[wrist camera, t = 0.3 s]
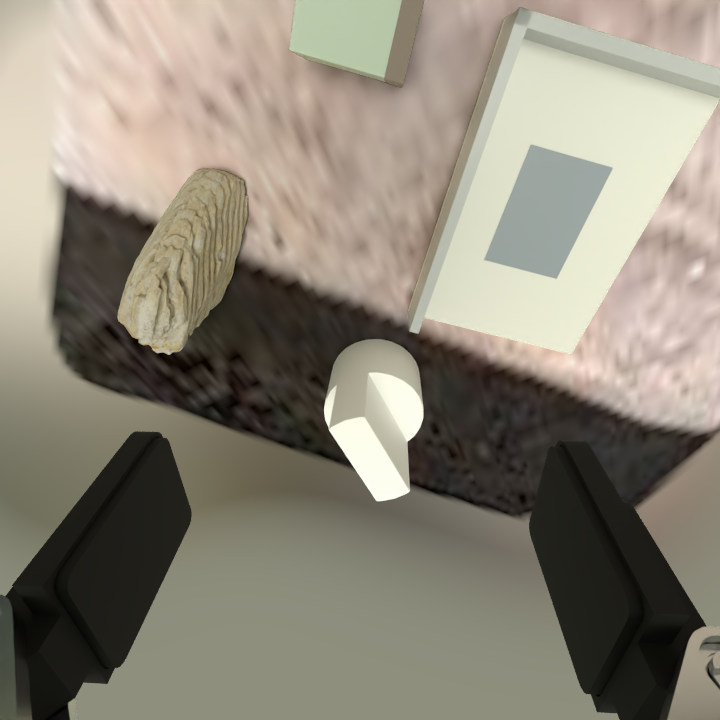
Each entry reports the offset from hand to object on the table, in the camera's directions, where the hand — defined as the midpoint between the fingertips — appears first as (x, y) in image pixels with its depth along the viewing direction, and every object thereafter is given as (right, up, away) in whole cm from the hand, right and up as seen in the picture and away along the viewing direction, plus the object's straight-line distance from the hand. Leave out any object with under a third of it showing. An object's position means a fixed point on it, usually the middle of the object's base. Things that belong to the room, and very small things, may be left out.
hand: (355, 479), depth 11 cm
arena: (+15, +15, +24) cm, 32 cm away
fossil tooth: (-14, +13, +27) cm, 33 cm away
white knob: (+2, +1, +33) cm, 33 cm away
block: (0, +25, +19) cm, 31 cm away
